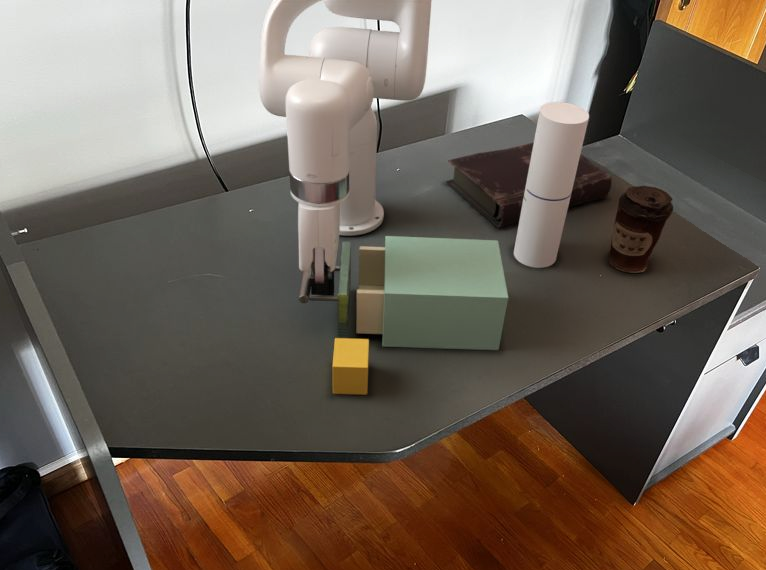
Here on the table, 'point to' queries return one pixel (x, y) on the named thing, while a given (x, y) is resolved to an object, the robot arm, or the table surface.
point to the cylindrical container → (550, 182)
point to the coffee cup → (638, 227)
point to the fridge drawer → (367, 294)
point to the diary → (515, 182)
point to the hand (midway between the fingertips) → (323, 295)
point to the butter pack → (350, 366)
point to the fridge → (443, 293)
